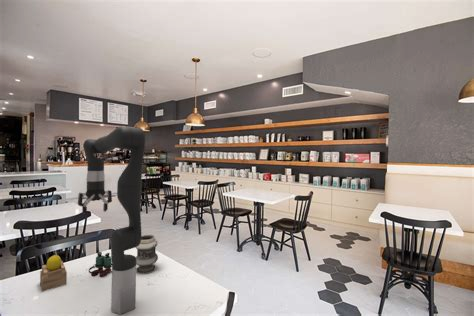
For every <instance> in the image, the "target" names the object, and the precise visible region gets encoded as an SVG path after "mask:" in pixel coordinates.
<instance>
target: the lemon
mask: <svg viewBox="0 0 474 316" xmlns="http://www.w3.org/2000/svg"><path fill="white" fill-rule="evenodd" d="M46 261H47V262H46V264H45V265H46V266H47V269H48V270H49V271H55V270H57V269H58V268H59V267H60V265H61V261H62V259H61V257H60V256H59V255H58V254H57V255H56V254H53V255H52V256H50V257H49V258H48V259H47V260H46Z"/></svg>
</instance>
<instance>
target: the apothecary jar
mask: <svg viewBox="0 0 474 316" xmlns="http://www.w3.org/2000/svg"><path fill="white" fill-rule="evenodd" d="M158 243H159V242H158V240H157V239H156V236H155V235H154V234H143V235H141V242H140V244H139V246H137V247H135V249H136V252H137V253H136V256H135V257H136V266H138V267H136V273H139V274H149V273H152V272H153V271H155V270H156V268H157V267H156V265H155V264H156V262H157V261H158V259H159V256H158V254H157V253H156V252H157V251H156V247H157V246H158Z"/></svg>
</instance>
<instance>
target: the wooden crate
mask: <svg viewBox="0 0 474 316" xmlns="http://www.w3.org/2000/svg"><path fill="white" fill-rule="evenodd" d="M67 273H68V272H67V269H66V266H65V264H64V262H63V260H61V265H60V267H59V268H58V269H57V270H55V271H49V270H48V269H47V266H46V264H44V265H41V270H40V273H39V274H40V275H39V277H40V278H39V280H40V282H39V283H40V288H41V292H42V293H43V292H46V291H49V290H52V289H55V288H59V287H62V286H66V285H67V283H68V282H67V277H68V275H67Z"/></svg>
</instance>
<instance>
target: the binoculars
mask: <svg viewBox="0 0 474 316" xmlns="http://www.w3.org/2000/svg"><path fill="white" fill-rule="evenodd" d="M102 254H103V253H102V252H101V251H97V256H96V257H95V264H93V266H90V267H89V268H88V273H89V274H91V275H90V276H91V277H97V276H99V277H100V278H103V277H105V276H107V274H108V273H110V272H112V261H111V253H110V252H106V253H105V254H104V255H102ZM93 269H94V270H93ZM91 270H93V271H91Z"/></svg>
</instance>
